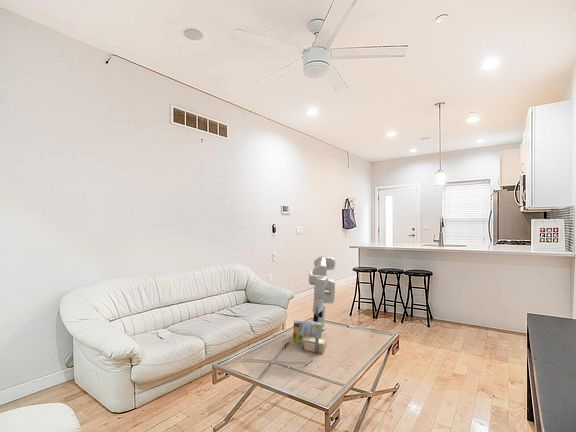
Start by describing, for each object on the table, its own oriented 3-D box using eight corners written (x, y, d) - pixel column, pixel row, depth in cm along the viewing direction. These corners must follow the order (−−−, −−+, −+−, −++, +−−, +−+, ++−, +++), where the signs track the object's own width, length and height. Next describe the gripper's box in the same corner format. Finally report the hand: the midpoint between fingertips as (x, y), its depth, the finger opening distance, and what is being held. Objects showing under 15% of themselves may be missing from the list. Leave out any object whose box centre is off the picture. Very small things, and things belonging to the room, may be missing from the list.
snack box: (320, 341, 244) (321, 322, 243) (320, 344, 238) (321, 325, 238) (293, 338, 246) (294, 319, 246) (292, 342, 241) (293, 322, 240)
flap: (301, 349, 228) (302, 333, 228) (302, 348, 231) (303, 332, 230) (317, 353, 223) (318, 337, 223) (318, 352, 226) (319, 336, 225)
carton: (305, 343, 238) (306, 335, 238) (326, 348, 232) (326, 340, 232) (302, 348, 231) (302, 339, 231) (323, 353, 225) (323, 344, 224)
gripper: (318, 291, 232) (316, 314, 233) (310, 297, 217) (308, 322, 217) (327, 293, 229) (326, 316, 230) (320, 299, 214) (319, 324, 214)
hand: (317, 319), depth 224 cm, fingers open, 9 cm apart
